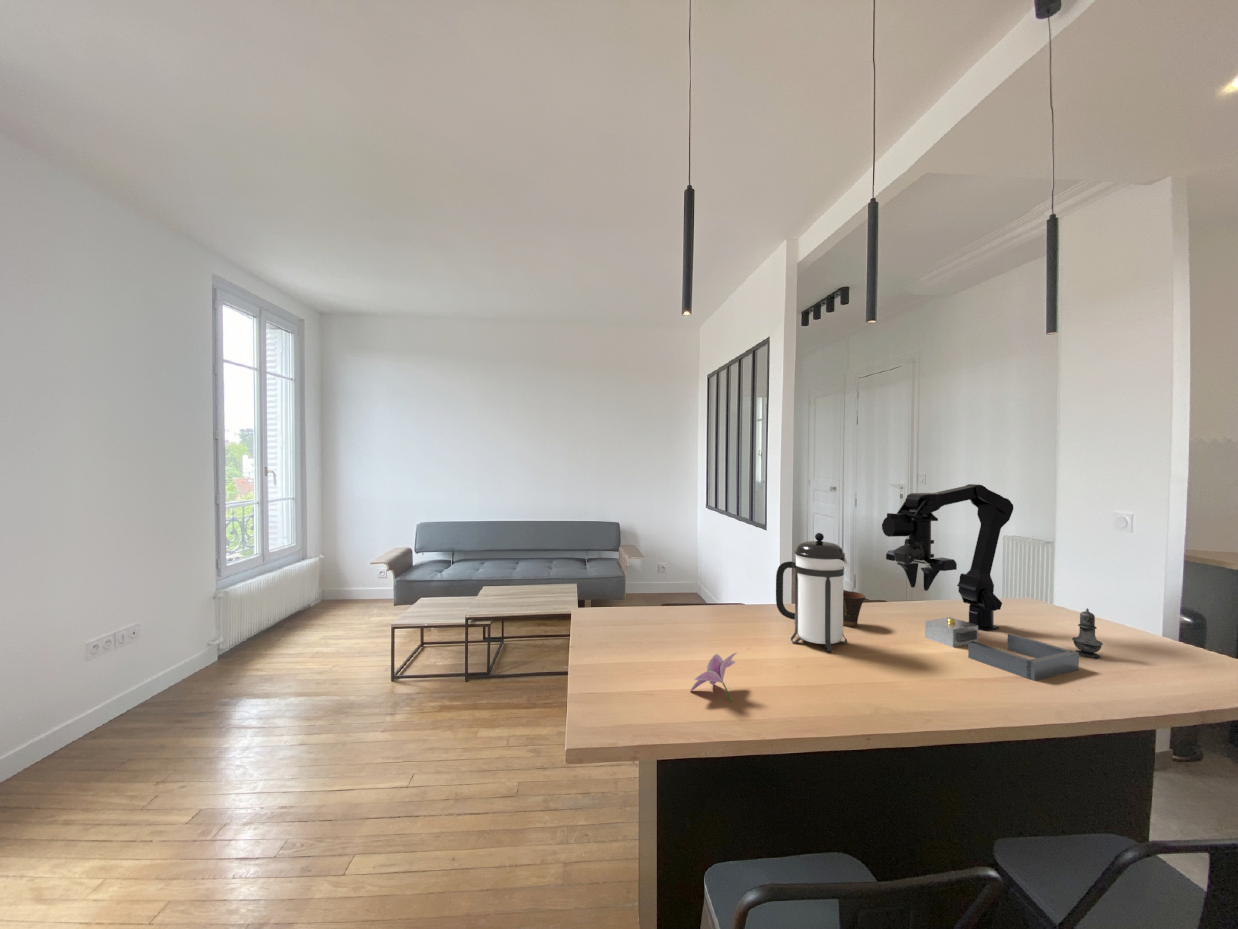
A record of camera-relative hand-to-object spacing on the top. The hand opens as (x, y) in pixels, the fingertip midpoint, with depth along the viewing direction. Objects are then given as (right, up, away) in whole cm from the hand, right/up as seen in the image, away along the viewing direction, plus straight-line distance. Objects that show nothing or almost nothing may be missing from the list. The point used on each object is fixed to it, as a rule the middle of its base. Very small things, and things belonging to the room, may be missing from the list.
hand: (919, 588), depth 150 cm
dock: (+10, -12, -25) cm, 30 cm away
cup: (-19, -12, +4) cm, 23 cm away
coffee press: (-35, -12, -11) cm, 39 cm away
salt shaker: (+32, -12, -20) cm, 39 cm away
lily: (-68, -12, -43) cm, 81 cm away
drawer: (+4, -12, -9) cm, 16 cm away
